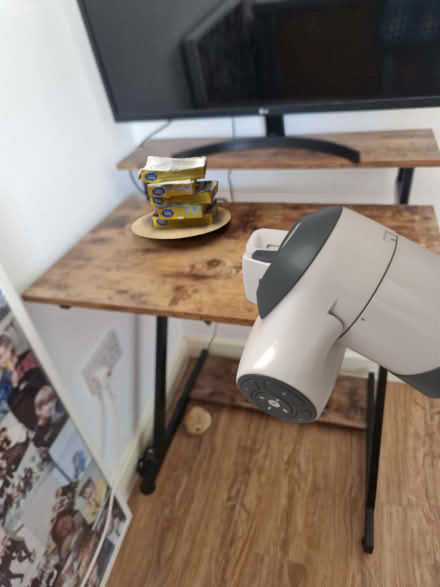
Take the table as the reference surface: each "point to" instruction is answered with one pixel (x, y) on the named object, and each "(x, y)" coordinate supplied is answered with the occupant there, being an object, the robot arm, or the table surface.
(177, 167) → the stacked cracker packs
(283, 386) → the robot arm
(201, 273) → the table surface
